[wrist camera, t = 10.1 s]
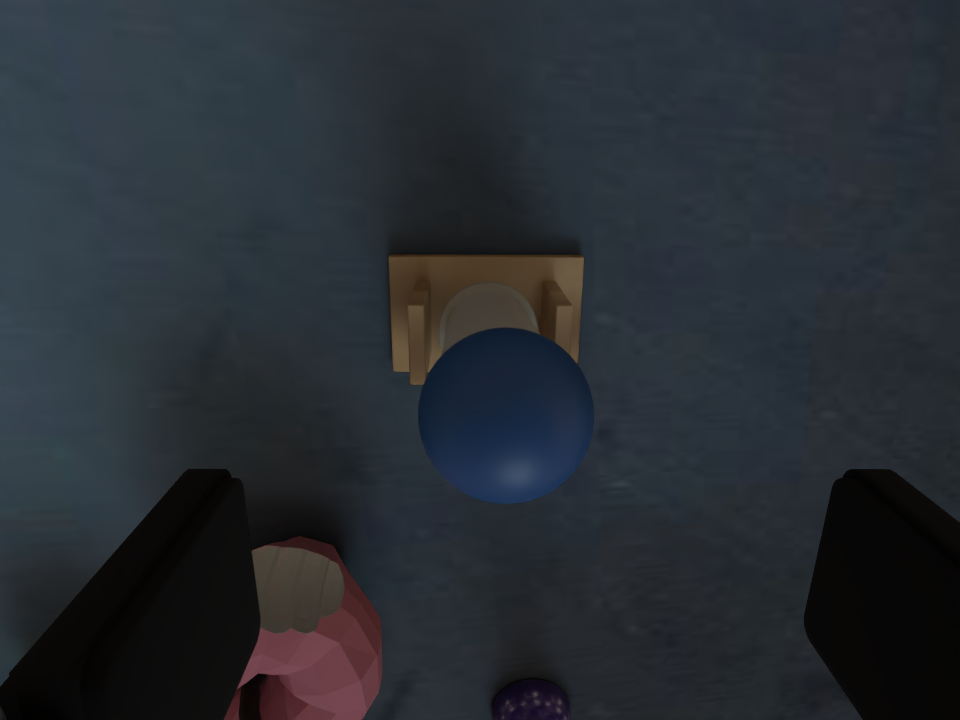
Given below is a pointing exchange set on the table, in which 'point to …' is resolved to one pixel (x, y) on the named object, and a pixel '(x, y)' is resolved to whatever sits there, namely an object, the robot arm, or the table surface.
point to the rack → (438, 277)
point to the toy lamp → (531, 702)
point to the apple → (309, 639)
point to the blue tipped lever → (502, 400)
